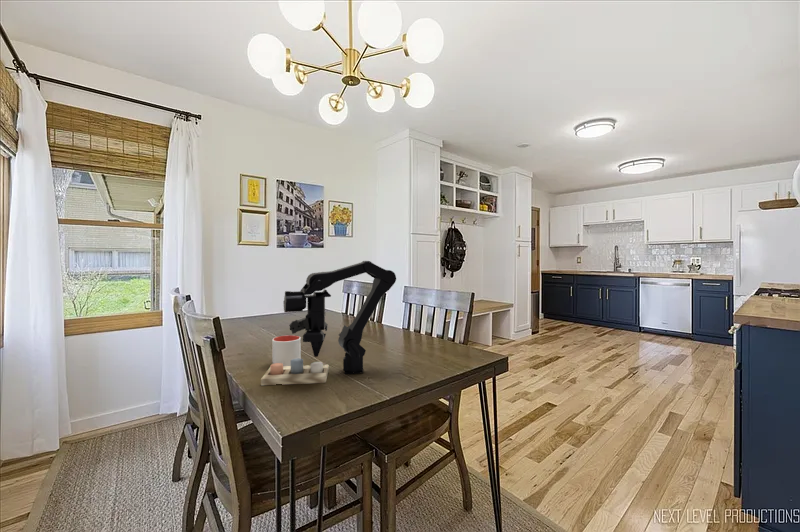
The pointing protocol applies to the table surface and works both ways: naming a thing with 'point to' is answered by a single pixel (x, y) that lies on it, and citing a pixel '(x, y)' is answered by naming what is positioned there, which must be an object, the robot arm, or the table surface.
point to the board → (295, 376)
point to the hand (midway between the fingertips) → (316, 356)
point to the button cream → (317, 367)
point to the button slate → (296, 366)
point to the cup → (286, 349)
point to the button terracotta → (276, 369)
